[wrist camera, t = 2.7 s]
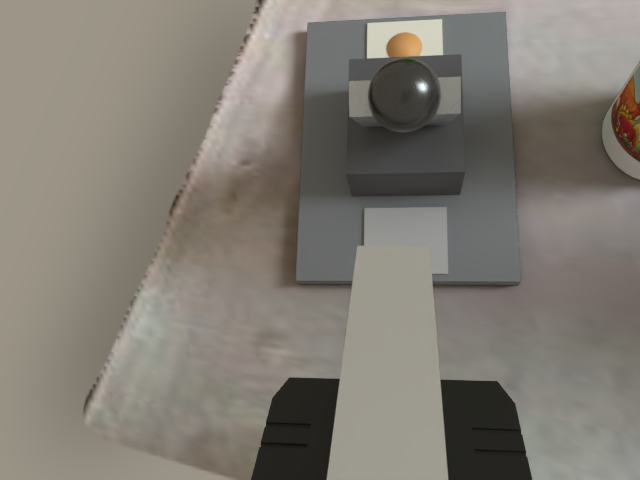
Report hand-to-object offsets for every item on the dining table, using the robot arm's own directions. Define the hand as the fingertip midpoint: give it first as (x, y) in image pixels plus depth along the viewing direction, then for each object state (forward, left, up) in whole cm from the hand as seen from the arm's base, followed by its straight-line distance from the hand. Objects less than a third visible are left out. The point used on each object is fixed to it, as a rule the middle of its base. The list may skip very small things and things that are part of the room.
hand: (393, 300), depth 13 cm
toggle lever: (-9, -16, -26) cm, 31 cm away
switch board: (-9, -16, -31) cm, 36 cm away
